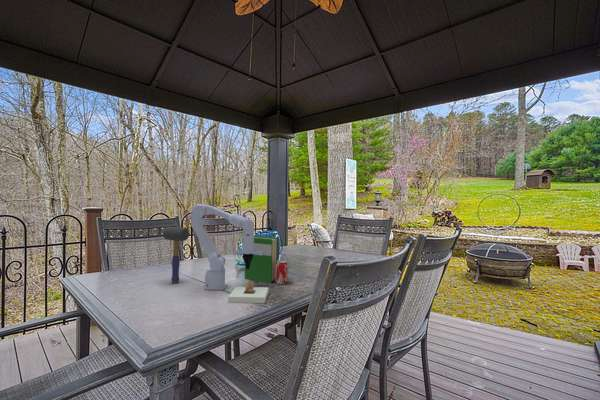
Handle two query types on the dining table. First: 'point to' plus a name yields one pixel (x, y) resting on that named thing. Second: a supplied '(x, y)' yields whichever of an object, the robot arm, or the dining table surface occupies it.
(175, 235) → the rubber mallet
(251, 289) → the oak peg
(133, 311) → the dining table surface
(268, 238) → the hardback book
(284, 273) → the soda can
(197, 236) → the robot arm
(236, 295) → the sage board
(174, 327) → the dining table surface
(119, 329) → the dining table surface
